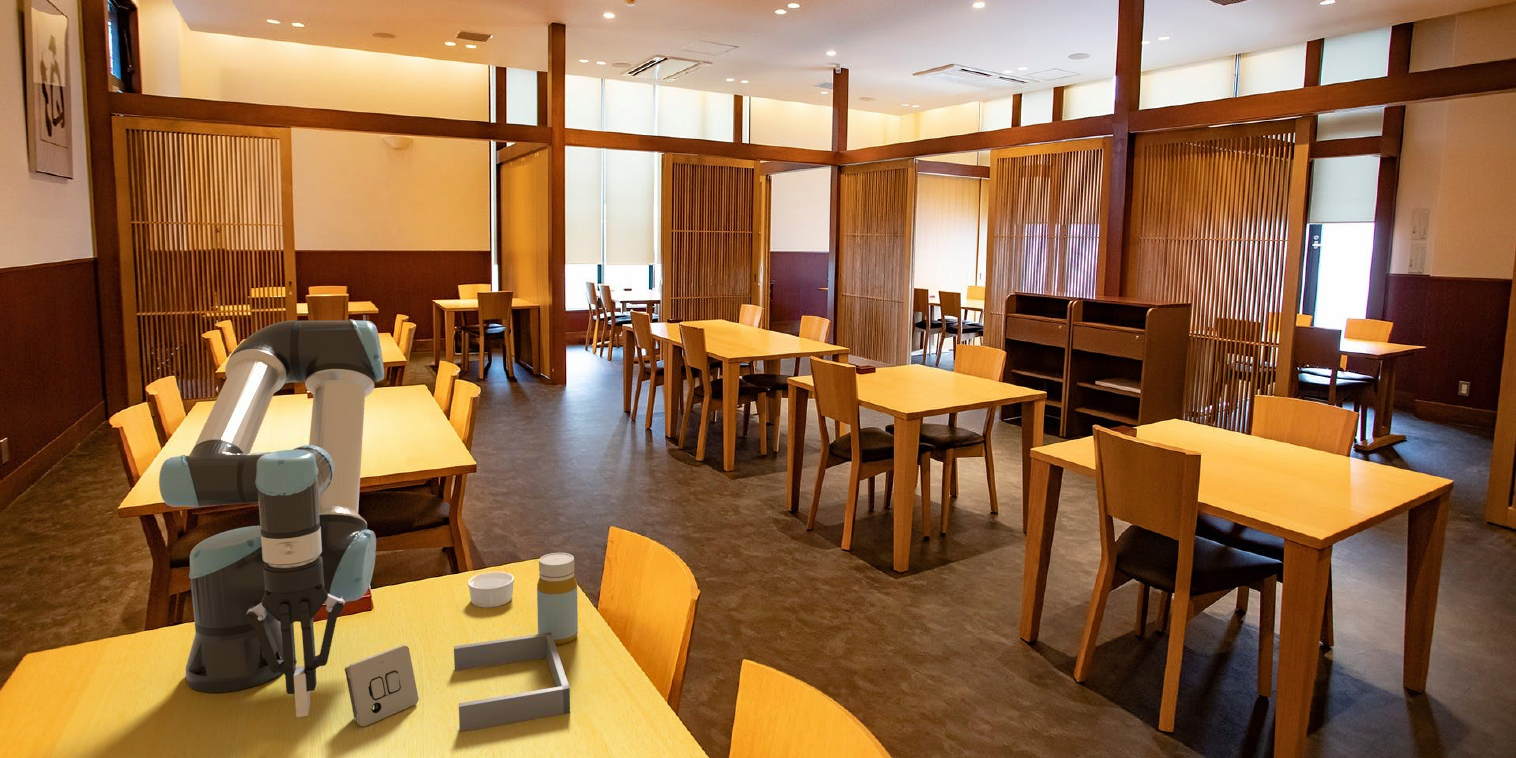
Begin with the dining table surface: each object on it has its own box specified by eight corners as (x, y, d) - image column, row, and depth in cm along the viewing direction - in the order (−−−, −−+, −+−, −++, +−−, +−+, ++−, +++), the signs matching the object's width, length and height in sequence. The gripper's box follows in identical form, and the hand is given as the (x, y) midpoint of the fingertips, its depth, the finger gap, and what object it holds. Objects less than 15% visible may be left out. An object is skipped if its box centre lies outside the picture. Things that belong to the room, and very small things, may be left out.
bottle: (585, 635, 157) (584, 557, 155) (557, 649, 151) (556, 569, 149) (558, 625, 161) (557, 549, 159) (530, 639, 155) (528, 560, 153)
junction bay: (454, 668, 144) (453, 646, 143) (551, 653, 150) (551, 632, 149) (459, 732, 126) (458, 706, 125) (570, 712, 132) (569, 688, 131)
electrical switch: (360, 730, 126) (354, 669, 125) (344, 720, 129) (337, 661, 128) (420, 704, 133) (414, 646, 132) (403, 696, 136) (397, 639, 135)
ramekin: (460, 607, 168) (459, 586, 168) (481, 589, 177) (481, 569, 176) (502, 611, 167) (501, 590, 166) (522, 593, 175) (521, 573, 175)
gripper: (235, 573, 117) (248, 733, 121) (340, 562, 122) (349, 716, 126) (246, 555, 124) (257, 706, 128) (345, 545, 129) (353, 691, 133)
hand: (303, 711), depth 127 cm, fingers closed
